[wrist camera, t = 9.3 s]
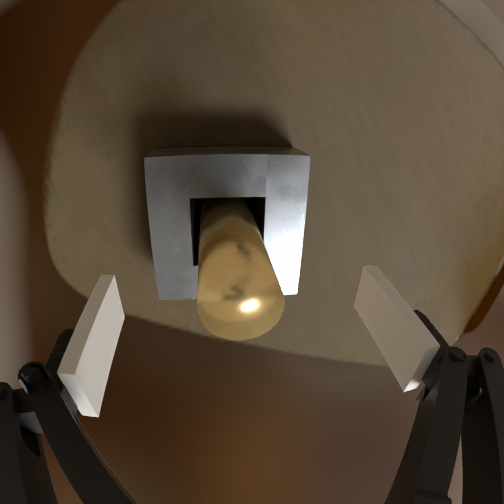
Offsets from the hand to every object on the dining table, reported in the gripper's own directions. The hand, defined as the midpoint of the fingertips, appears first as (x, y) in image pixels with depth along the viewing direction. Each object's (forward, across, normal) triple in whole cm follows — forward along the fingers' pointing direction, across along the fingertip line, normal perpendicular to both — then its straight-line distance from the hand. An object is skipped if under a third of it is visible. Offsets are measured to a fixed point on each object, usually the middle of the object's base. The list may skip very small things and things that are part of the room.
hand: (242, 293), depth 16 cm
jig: (+13, 0, -1) cm, 13 cm away
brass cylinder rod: (+13, 0, -1) cm, 13 cm away
